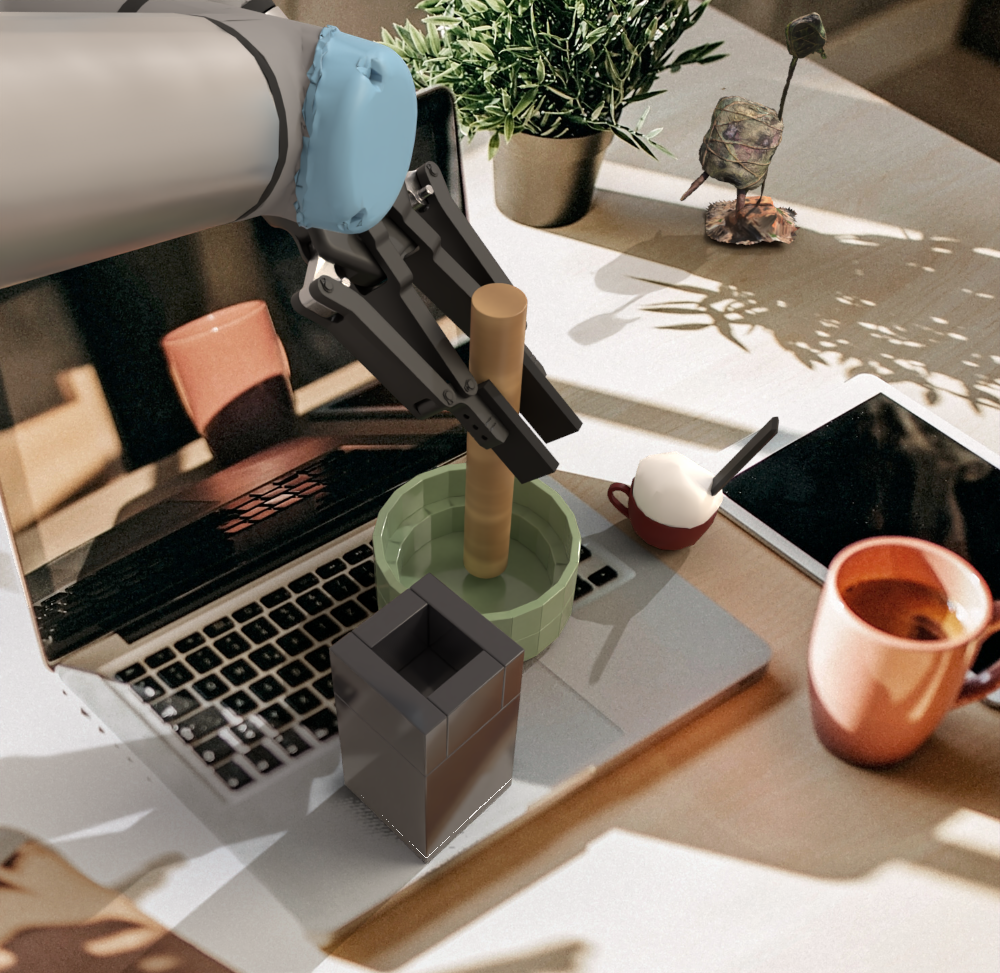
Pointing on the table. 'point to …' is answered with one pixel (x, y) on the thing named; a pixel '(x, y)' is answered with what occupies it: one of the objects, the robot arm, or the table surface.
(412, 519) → the bowl
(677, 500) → the cocoa
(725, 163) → the bird figurine
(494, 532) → the stirring stick
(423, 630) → the box
